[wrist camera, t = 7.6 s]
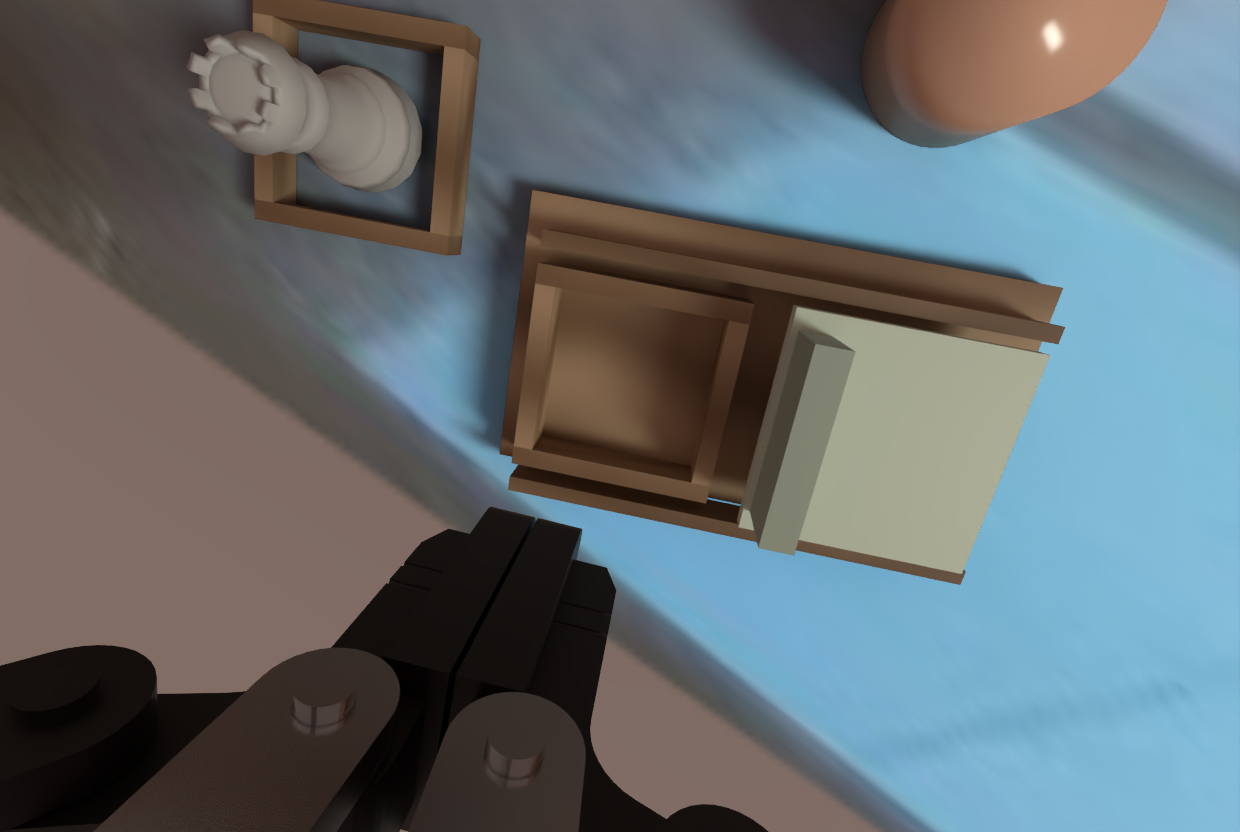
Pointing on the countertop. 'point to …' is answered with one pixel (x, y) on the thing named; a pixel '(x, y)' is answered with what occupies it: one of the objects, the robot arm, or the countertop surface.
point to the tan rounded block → (994, 61)
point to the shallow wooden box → (698, 352)
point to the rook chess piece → (307, 110)
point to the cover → (885, 438)
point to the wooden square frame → (295, 5)
